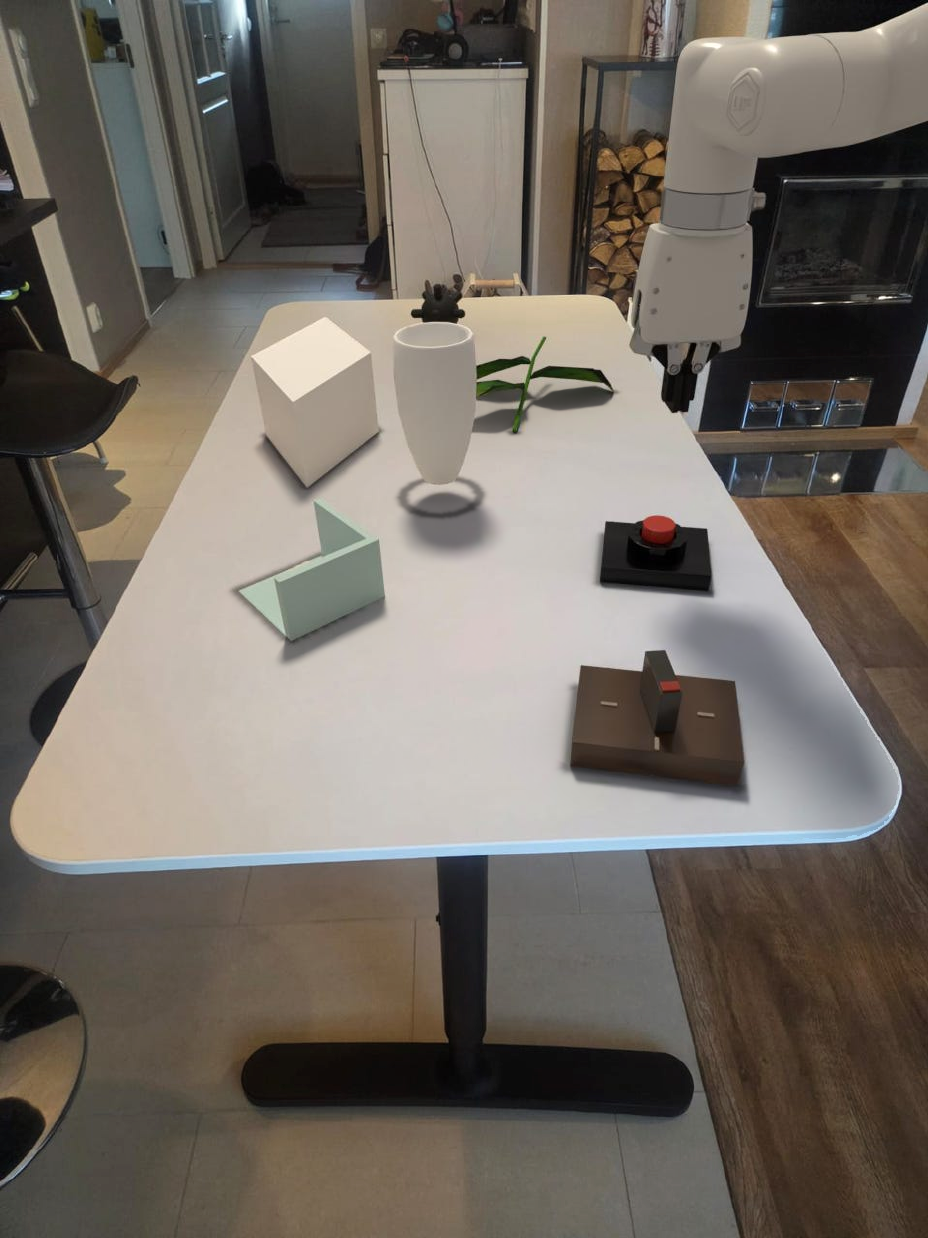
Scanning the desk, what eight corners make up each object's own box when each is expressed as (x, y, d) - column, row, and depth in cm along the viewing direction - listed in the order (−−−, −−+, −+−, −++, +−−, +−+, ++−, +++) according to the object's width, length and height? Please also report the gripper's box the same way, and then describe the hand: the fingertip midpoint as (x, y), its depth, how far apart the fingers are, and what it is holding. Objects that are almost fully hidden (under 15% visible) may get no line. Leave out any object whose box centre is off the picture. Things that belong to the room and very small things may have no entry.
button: (673, 529, 92) (675, 516, 91) (673, 546, 90) (675, 532, 89) (641, 527, 93) (643, 514, 92) (641, 543, 90) (642, 530, 89)
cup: (386, 497, 107) (370, 336, 94) (441, 470, 113) (434, 314, 100) (440, 524, 102) (432, 356, 88) (496, 494, 107) (495, 332, 94)
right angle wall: (328, 552, 97) (319, 498, 92) (385, 596, 90) (378, 539, 85) (238, 590, 91) (224, 534, 87) (291, 641, 84) (279, 582, 79)
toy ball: (482, 312, 160) (474, 314, 149) (445, 351, 164) (435, 356, 153) (444, 271, 158) (434, 270, 147) (408, 311, 162) (395, 313, 151)
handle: (639, 689, 72) (645, 648, 69) (659, 687, 72) (665, 647, 69) (654, 733, 68) (661, 691, 65) (675, 731, 68) (683, 690, 65)
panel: (729, 704, 75) (735, 679, 73) (738, 787, 67) (745, 761, 65) (578, 688, 77) (580, 663, 75) (569, 766, 69) (572, 740, 67)
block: (243, 489, 110) (224, 404, 103) (284, 391, 138) (271, 318, 130) (370, 485, 110) (361, 399, 103) (385, 388, 138) (378, 314, 130)
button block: (704, 543, 96) (709, 515, 94) (708, 591, 89) (714, 561, 86) (604, 536, 98) (606, 507, 96) (599, 582, 91) (602, 552, 88)
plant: (420, 404, 132) (417, 358, 127) (540, 364, 145) (542, 321, 141) (495, 441, 120) (495, 391, 116) (618, 393, 134) (622, 347, 129)
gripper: (771, 197, 74) (735, 389, 85) (611, 204, 73) (596, 397, 84) (804, 214, 68) (760, 418, 79) (630, 222, 67) (611, 426, 79)
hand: (675, 407), depth 82 cm, fingers closed
